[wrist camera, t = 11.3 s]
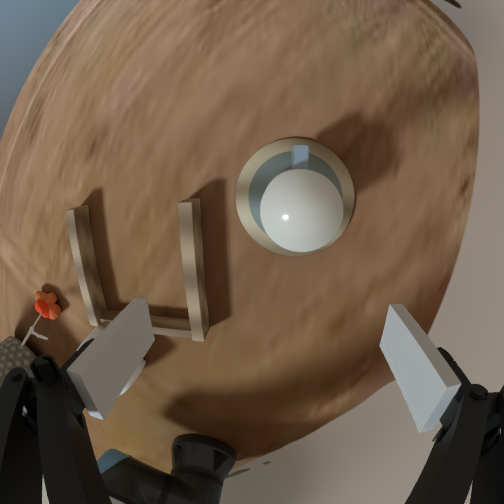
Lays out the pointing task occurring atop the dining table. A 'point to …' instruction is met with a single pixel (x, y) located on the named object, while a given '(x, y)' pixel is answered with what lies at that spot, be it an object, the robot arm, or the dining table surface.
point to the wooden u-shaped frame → (192, 271)
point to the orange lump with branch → (44, 310)
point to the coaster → (275, 161)
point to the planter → (14, 357)
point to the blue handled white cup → (301, 206)
